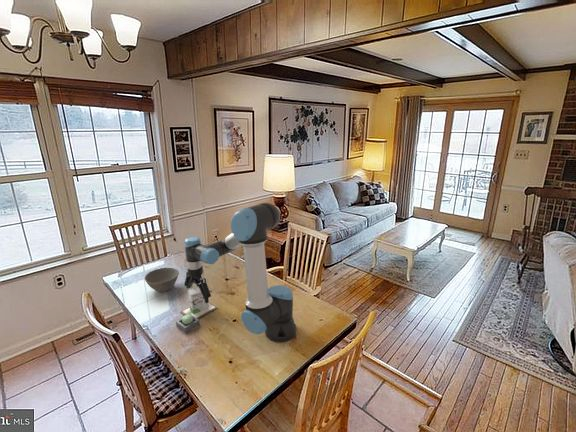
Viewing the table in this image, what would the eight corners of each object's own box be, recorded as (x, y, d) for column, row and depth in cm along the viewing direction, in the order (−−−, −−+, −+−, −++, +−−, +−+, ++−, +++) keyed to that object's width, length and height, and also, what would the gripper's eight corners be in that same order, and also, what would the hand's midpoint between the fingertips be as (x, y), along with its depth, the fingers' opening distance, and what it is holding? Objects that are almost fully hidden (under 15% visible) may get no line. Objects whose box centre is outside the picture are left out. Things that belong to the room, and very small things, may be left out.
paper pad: (217, 308, 162) (217, 307, 161) (193, 321, 150) (193, 320, 150) (204, 300, 169) (204, 299, 169) (180, 312, 158) (180, 311, 157)
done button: (195, 322, 147) (194, 317, 147) (186, 327, 144) (185, 322, 143) (189, 318, 150) (188, 313, 150) (180, 323, 147) (179, 318, 146)
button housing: (199, 325, 148) (199, 320, 147) (185, 333, 142) (184, 328, 141) (190, 318, 153) (190, 313, 152) (176, 326, 147) (175, 321, 146)
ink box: (193, 314, 155) (190, 294, 152) (189, 309, 159) (187, 290, 155) (208, 308, 160) (206, 289, 156) (205, 304, 164) (203, 285, 160)
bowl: (139, 295, 173) (137, 280, 170) (160, 280, 191) (158, 265, 188) (168, 300, 169) (165, 284, 166) (186, 283, 186) (184, 269, 183)
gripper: (216, 271, 147) (219, 308, 154) (187, 257, 162) (191, 291, 169) (203, 277, 142) (206, 315, 148) (174, 262, 157) (179, 297, 163)
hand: (198, 302), depth 158 cm, fingers open, 13 cm apart
